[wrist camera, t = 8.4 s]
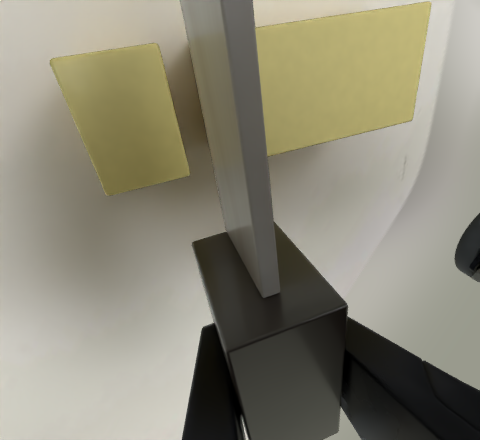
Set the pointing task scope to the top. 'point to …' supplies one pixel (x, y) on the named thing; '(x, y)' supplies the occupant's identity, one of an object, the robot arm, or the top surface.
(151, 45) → the butter pat
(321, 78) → the butter stick
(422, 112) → the top surface
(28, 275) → the top surface
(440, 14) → the top surface
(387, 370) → the robot arm
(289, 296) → the knife
